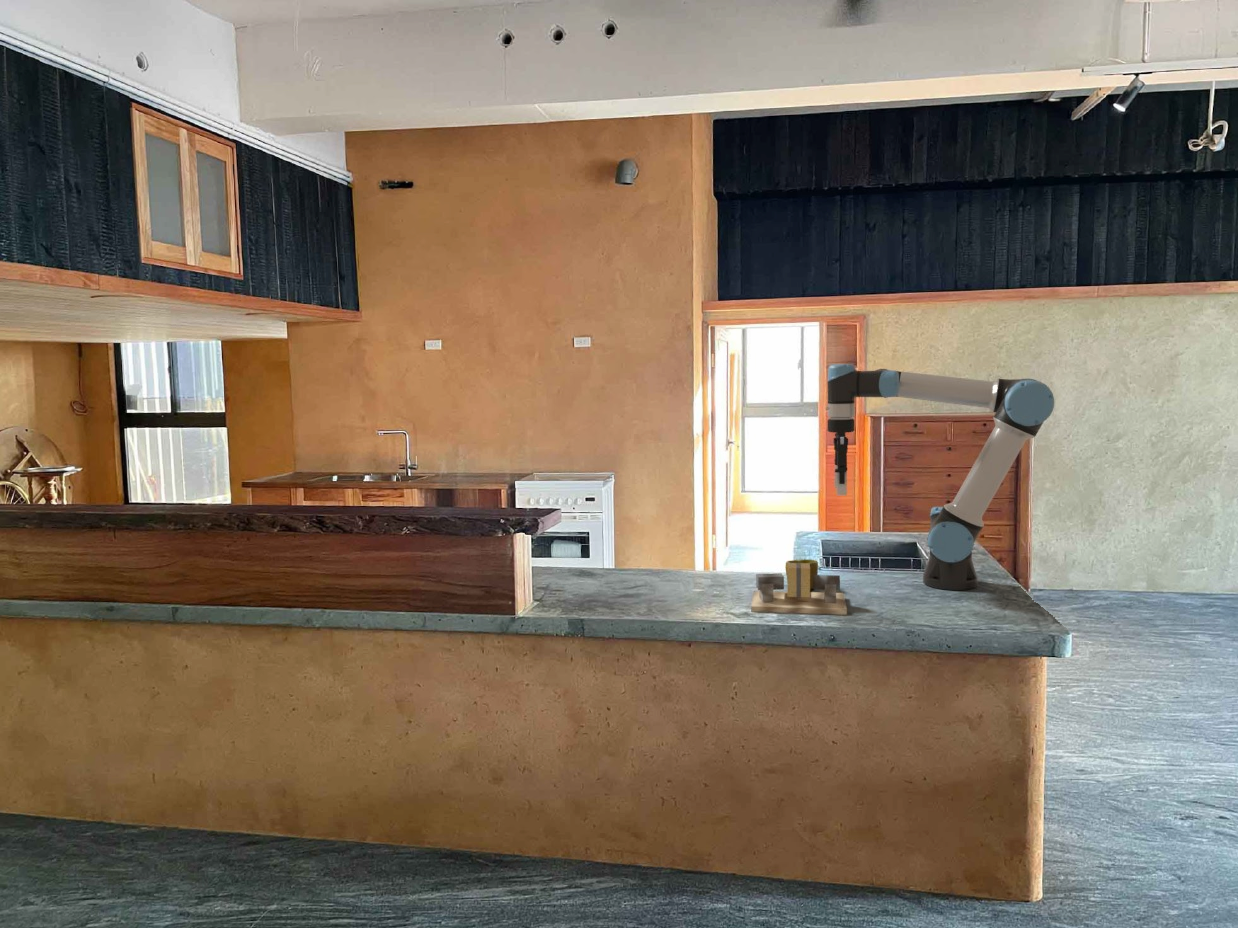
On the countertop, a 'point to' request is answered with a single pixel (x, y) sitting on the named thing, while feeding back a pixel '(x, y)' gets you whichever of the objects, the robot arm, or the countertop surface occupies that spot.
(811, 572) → the mug
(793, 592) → the tan cardboard block
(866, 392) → the robot arm
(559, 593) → the countertop surface
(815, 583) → the shaft rig
